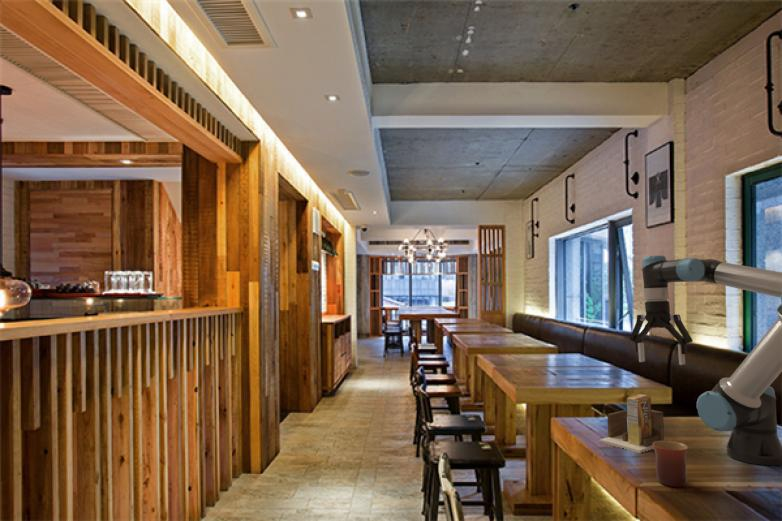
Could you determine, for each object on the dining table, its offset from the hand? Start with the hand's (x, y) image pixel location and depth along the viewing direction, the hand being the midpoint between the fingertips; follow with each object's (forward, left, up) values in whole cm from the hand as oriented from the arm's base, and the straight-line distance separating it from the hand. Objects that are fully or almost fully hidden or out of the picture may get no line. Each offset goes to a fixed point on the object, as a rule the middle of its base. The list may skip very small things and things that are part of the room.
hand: (661, 363), depth 177 cm
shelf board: (+7, +7, -28) cm, 30 cm away
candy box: (+5, +6, -27) cm, 28 cm away
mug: (-19, +29, -28) cm, 45 cm away
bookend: (+5, +4, -28) cm, 29 cm away
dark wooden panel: (+15, +4, -28) cm, 32 cm away
